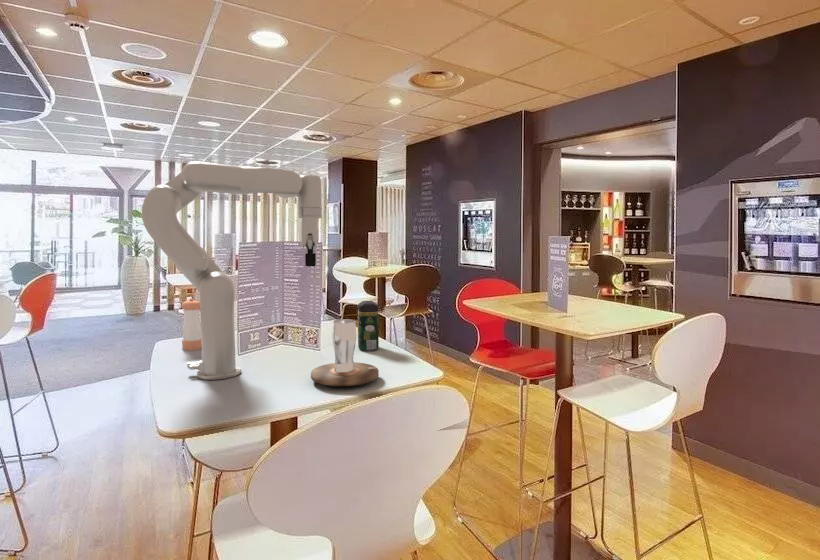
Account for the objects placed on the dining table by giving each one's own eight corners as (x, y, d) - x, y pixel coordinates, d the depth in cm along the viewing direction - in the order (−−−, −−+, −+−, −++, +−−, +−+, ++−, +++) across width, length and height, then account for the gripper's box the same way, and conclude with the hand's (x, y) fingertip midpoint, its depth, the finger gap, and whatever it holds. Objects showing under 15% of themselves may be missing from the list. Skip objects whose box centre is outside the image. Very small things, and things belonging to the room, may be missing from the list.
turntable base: (321, 389, 127) (321, 384, 127) (321, 374, 140) (321, 370, 140) (371, 386, 129) (371, 381, 129) (366, 372, 143) (366, 367, 143)
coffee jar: (357, 346, 178) (356, 299, 177) (377, 345, 180) (377, 299, 178) (358, 352, 169) (358, 303, 167) (379, 351, 170) (379, 302, 169)
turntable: (310, 387, 123) (310, 381, 123) (311, 367, 143) (311, 361, 142) (382, 383, 127) (382, 377, 127) (374, 364, 147) (374, 359, 146)
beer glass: (351, 374, 130) (351, 323, 129) (329, 373, 132) (328, 322, 130) (359, 368, 137) (359, 319, 136) (337, 366, 139) (337, 318, 137)
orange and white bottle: (207, 347, 174) (205, 298, 172) (189, 351, 168) (187, 300, 166) (196, 345, 178) (194, 296, 176) (178, 348, 172) (176, 298, 170)
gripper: (299, 214, 157) (300, 264, 158) (297, 211, 140) (298, 267, 141) (321, 215, 158) (322, 263, 160) (321, 212, 141) (322, 266, 143)
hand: (310, 265), depth 150 cm, fingers open, 9 cm apart
